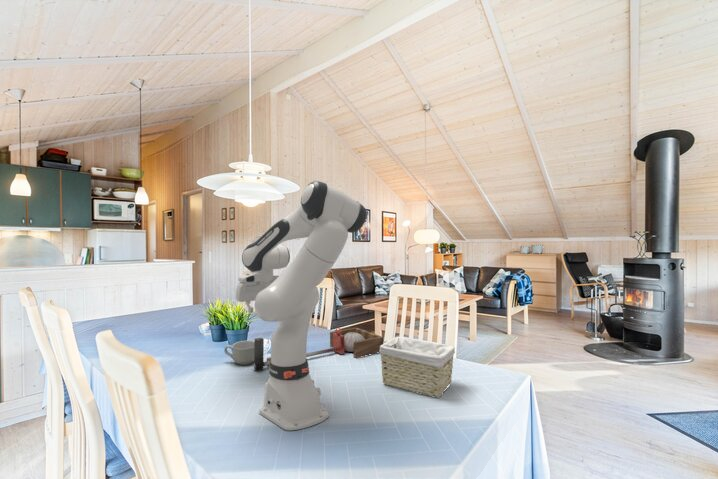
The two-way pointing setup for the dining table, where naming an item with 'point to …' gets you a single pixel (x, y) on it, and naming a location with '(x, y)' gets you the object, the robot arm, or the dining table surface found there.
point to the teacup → (241, 352)
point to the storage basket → (417, 365)
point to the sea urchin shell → (351, 341)
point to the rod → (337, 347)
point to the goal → (362, 342)
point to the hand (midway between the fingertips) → (262, 310)
